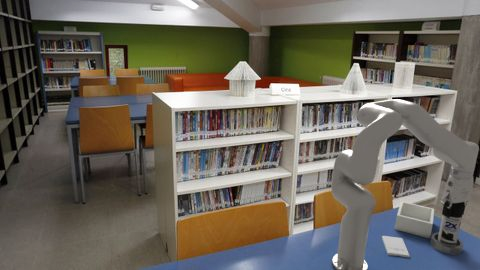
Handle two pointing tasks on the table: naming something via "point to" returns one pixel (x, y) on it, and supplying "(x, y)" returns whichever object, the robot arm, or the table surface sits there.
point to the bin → (415, 219)
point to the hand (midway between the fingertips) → (452, 214)
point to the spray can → (451, 225)
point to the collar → (446, 248)
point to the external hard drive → (395, 246)
